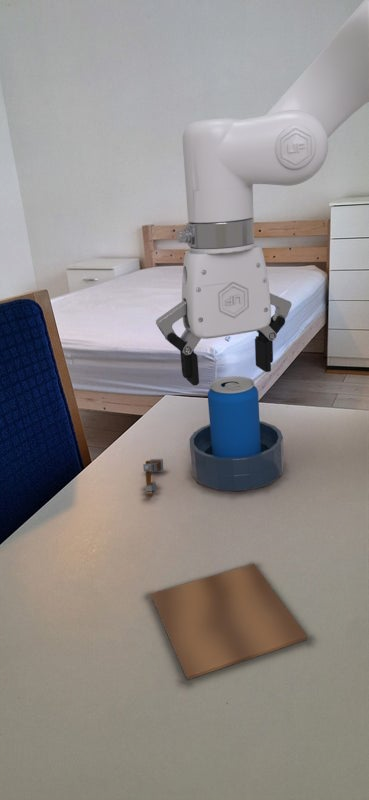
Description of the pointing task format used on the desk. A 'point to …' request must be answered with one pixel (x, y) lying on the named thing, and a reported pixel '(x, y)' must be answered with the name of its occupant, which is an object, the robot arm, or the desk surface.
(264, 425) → the bowl
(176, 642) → the coaster
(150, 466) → the wooden post with brackets
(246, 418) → the beverage can
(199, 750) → the desk surface
